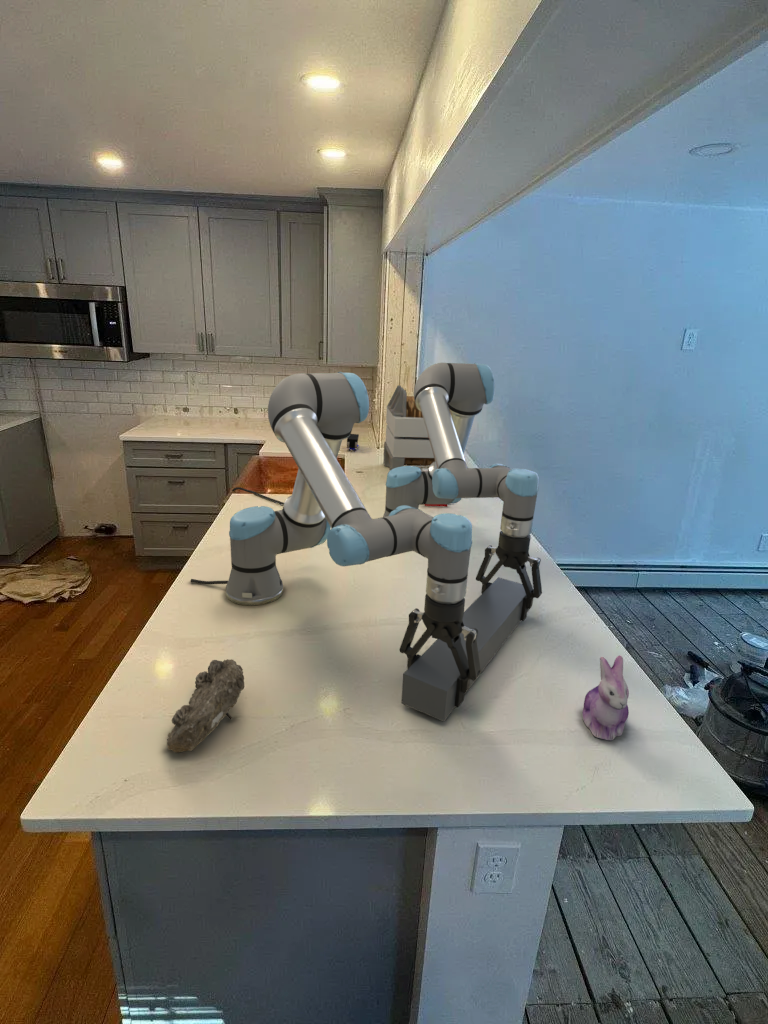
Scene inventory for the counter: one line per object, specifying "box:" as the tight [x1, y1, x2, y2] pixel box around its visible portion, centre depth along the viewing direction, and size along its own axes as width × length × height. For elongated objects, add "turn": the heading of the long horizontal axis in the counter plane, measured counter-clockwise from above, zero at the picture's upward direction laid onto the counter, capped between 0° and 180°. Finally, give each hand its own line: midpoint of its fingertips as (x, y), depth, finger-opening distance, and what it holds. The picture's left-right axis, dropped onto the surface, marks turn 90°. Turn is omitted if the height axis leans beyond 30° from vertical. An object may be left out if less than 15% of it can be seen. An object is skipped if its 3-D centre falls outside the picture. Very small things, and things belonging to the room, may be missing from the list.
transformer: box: [383, 384, 435, 471], centre depth 268 cm, size 34×33×41 cm
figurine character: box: [346, 433, 360, 452], centre depth 314 cm, size 7×8×15 cm
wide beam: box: [400, 576, 530, 722], centre depth 130 cm, size 52×9×7 cm, turn 149°
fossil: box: [166, 658, 245, 754], centre depth 106 cm, size 22×10×15 cm
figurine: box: [581, 654, 630, 741], centre depth 108 cm, size 9×10×15 cm
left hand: (436, 693), depth 115 cm, fingers closed on wide beam, 9 cm apart
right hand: (504, 612), depth 147 cm, fingers closed on wide beam, 9 cm apart
